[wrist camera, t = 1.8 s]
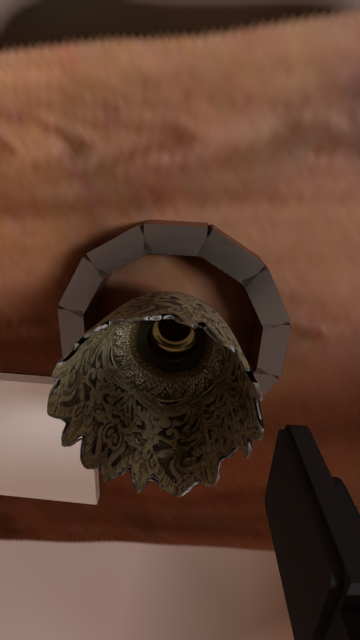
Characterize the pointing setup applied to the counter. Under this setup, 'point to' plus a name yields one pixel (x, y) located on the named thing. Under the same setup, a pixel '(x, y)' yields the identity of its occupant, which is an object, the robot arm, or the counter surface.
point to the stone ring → (185, 241)
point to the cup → (158, 395)
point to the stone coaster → (38, 446)
